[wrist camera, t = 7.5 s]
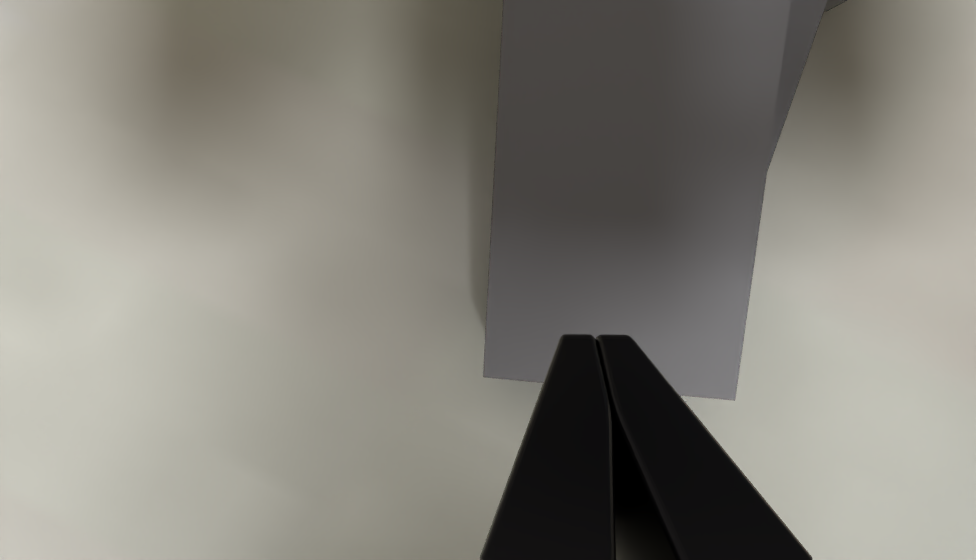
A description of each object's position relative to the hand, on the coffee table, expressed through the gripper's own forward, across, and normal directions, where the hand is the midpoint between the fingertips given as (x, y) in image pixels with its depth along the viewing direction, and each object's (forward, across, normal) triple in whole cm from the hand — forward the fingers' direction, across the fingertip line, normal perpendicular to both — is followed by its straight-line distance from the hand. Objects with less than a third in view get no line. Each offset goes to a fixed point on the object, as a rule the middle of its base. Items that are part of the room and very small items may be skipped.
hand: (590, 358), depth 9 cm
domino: (+4, -1, +5) cm, 7 cm away
